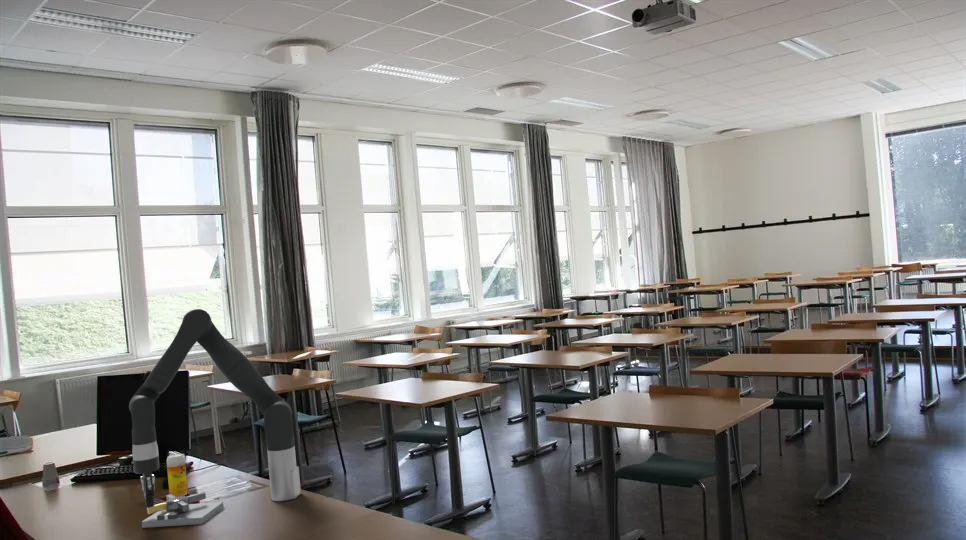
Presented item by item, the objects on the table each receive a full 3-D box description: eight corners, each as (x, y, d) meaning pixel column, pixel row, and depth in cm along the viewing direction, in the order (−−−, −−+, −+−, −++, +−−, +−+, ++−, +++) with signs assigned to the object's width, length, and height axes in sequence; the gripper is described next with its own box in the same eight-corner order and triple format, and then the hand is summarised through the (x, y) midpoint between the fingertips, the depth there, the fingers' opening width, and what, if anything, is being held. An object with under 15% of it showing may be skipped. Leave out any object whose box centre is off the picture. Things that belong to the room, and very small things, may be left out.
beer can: (180, 499, 249) (177, 457, 249) (166, 499, 250) (162, 458, 250) (191, 493, 255) (187, 453, 255) (176, 493, 256) (173, 453, 256)
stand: (223, 507, 233) (222, 497, 233) (202, 523, 218) (201, 513, 218) (167, 511, 235) (166, 501, 235) (142, 527, 220) (141, 517, 220)
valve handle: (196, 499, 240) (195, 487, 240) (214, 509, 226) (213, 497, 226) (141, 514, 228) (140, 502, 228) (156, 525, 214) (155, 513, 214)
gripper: (160, 457, 220) (165, 511, 220) (156, 450, 231) (160, 501, 231) (134, 462, 216) (139, 517, 216) (131, 454, 227) (135, 506, 228)
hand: (150, 509), depth 224 cm, fingers closed
